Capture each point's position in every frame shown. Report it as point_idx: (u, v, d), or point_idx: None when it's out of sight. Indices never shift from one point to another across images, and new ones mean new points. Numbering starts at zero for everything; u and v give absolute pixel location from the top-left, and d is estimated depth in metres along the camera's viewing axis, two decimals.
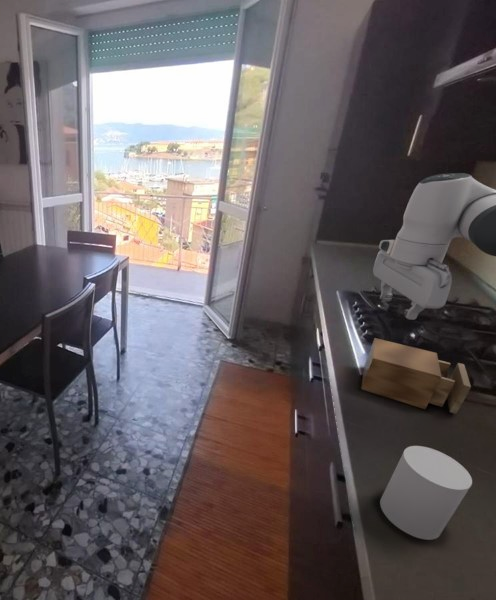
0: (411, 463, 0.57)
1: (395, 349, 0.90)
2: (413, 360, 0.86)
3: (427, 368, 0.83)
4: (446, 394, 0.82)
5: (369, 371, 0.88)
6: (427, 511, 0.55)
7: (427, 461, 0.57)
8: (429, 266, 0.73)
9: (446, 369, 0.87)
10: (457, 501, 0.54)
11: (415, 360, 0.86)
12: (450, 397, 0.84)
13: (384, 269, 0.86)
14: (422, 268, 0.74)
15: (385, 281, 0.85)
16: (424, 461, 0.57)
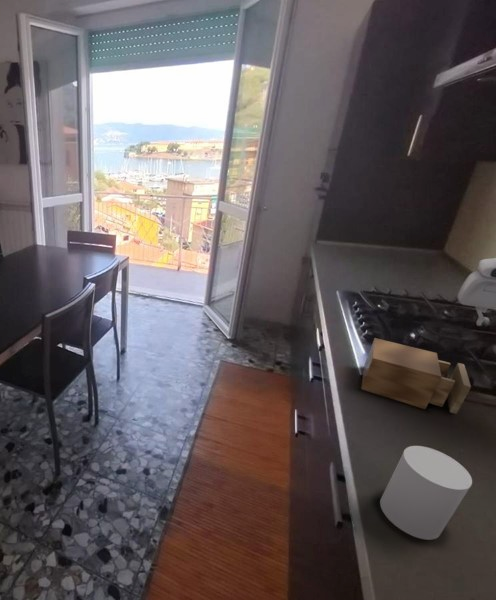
0: (411, 463, 0.57)
1: (395, 349, 0.90)
2: (413, 360, 0.86)
3: (427, 368, 0.83)
4: (446, 394, 0.82)
5: (369, 371, 0.88)
6: (427, 511, 0.55)
7: (427, 461, 0.57)
8: None
9: (446, 369, 0.87)
10: (457, 501, 0.54)
11: (415, 360, 0.86)
12: (450, 397, 0.84)
13: (489, 296, 0.76)
14: None
15: None
16: (424, 461, 0.57)
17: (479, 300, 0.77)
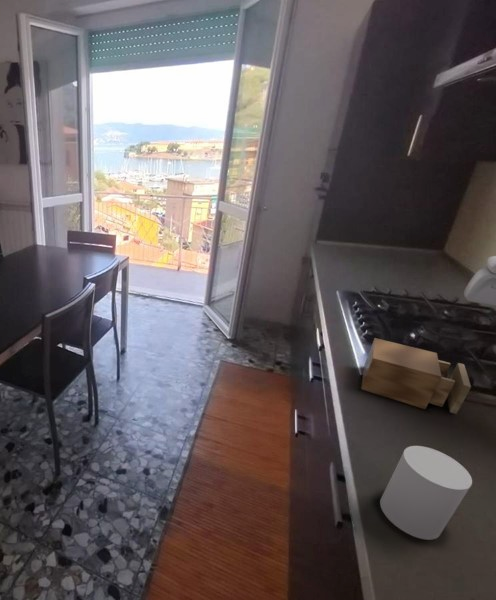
0: (411, 463, 0.57)
1: (395, 349, 0.90)
2: (413, 360, 0.86)
3: (427, 368, 0.83)
4: (446, 394, 0.82)
5: (369, 371, 0.88)
6: (427, 511, 0.55)
7: (427, 461, 0.57)
8: None
9: (446, 369, 0.87)
10: (457, 501, 0.54)
11: (415, 360, 0.86)
12: (450, 397, 0.84)
13: None
14: None
15: None
16: (424, 461, 0.57)
17: (486, 297, 0.76)
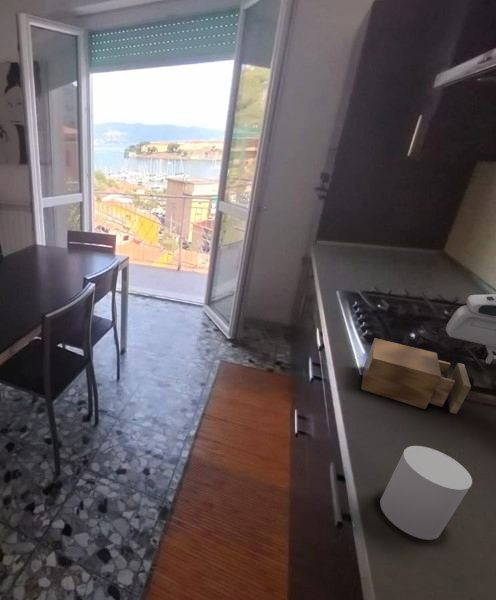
0: (411, 463, 0.57)
1: (395, 349, 0.90)
2: (413, 360, 0.86)
3: (427, 368, 0.83)
4: (446, 394, 0.82)
5: (369, 371, 0.88)
6: (427, 511, 0.55)
7: (427, 461, 0.57)
8: None
9: (446, 369, 0.87)
10: (457, 501, 0.54)
11: (415, 360, 0.86)
12: (450, 397, 0.84)
13: (475, 331, 0.79)
14: None
15: (482, 342, 0.79)
16: (424, 461, 0.57)
17: (466, 334, 0.81)
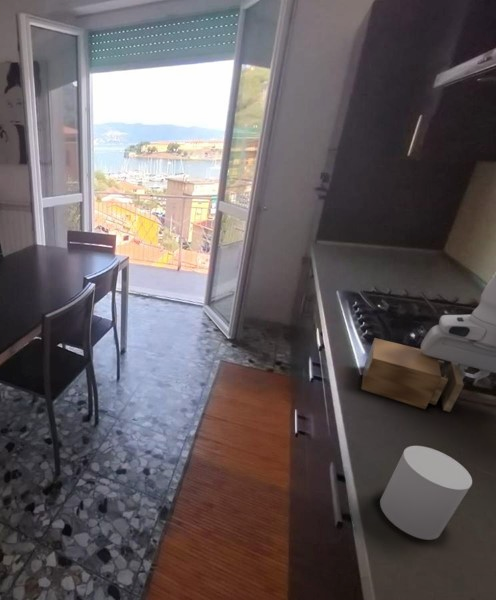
0: (411, 463, 0.57)
1: (395, 349, 0.90)
2: (413, 360, 0.86)
3: (427, 368, 0.83)
4: (439, 392, 0.82)
5: (369, 371, 0.88)
6: (427, 511, 0.55)
7: (427, 461, 0.57)
8: None
9: (440, 367, 0.87)
10: (457, 501, 0.54)
11: (415, 360, 0.86)
12: (443, 395, 0.85)
13: (447, 350, 0.83)
14: None
15: (454, 361, 0.83)
16: (424, 461, 0.57)
17: (438, 352, 0.85)
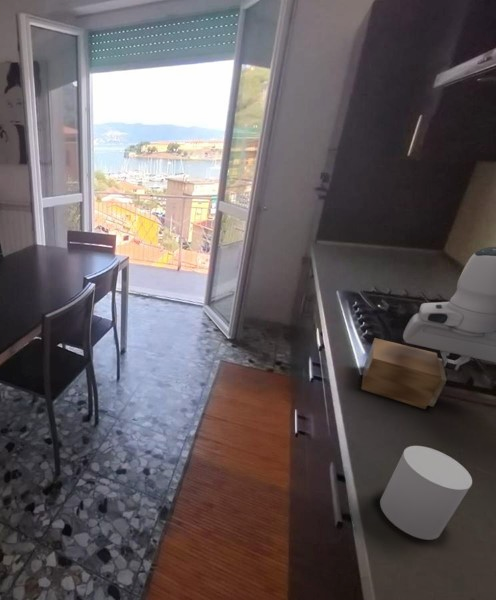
0: (411, 463, 0.57)
1: (395, 349, 0.90)
2: (413, 360, 0.86)
3: (427, 368, 0.83)
4: None
5: (369, 371, 0.88)
6: (427, 511, 0.55)
7: (427, 461, 0.57)
8: None
9: None
10: (457, 501, 0.54)
11: (415, 360, 0.86)
12: None
13: (428, 337, 0.85)
14: None
15: (435, 347, 0.85)
16: (424, 461, 0.57)
17: (420, 340, 0.86)
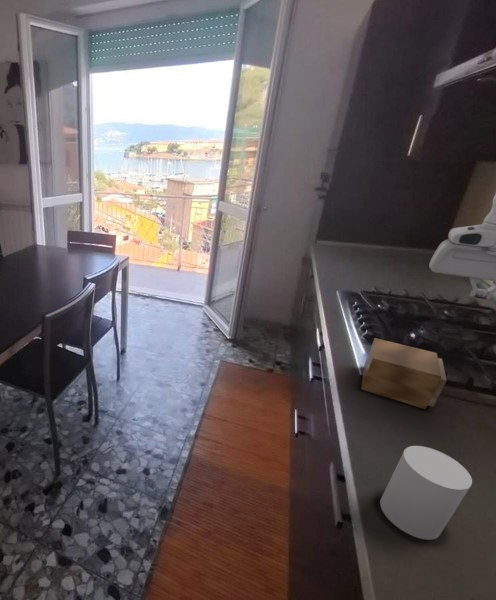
0: (411, 463, 0.57)
1: (395, 349, 0.90)
2: (413, 360, 0.86)
3: (427, 368, 0.83)
4: None
5: (369, 371, 0.88)
6: (427, 511, 0.55)
7: (427, 461, 0.57)
8: None
9: None
10: (457, 501, 0.54)
11: (415, 360, 0.86)
12: None
13: (458, 263, 0.79)
14: None
15: (465, 274, 0.79)
16: (424, 461, 0.57)
17: (448, 267, 0.80)
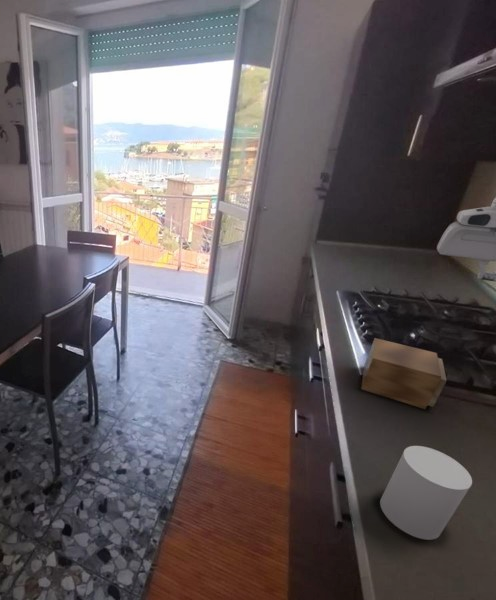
0: (411, 463, 0.57)
1: (395, 349, 0.90)
2: (413, 360, 0.86)
3: (427, 368, 0.83)
4: None
5: (369, 371, 0.88)
6: (427, 511, 0.55)
7: (427, 461, 0.57)
8: None
9: None
10: (457, 501, 0.54)
11: (415, 360, 0.86)
12: None
13: (466, 245, 0.79)
14: None
15: (473, 256, 0.79)
16: (424, 461, 0.57)
17: (456, 249, 0.80)
